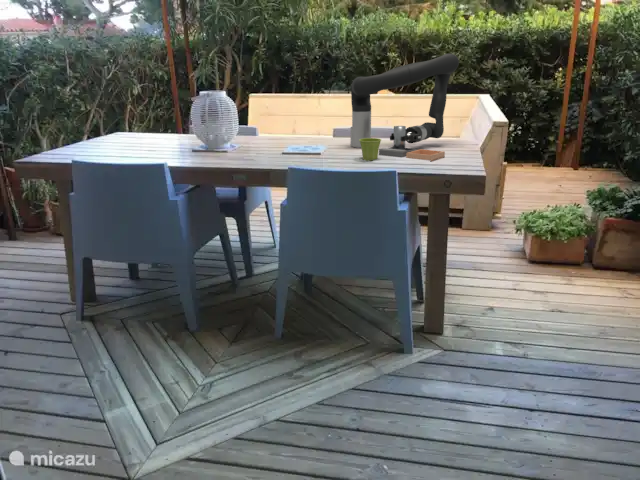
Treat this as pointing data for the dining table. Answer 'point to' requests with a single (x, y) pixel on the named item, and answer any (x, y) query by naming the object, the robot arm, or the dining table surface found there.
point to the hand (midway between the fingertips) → (396, 138)
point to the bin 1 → (395, 151)
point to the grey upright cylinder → (399, 137)
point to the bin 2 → (426, 154)
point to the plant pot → (370, 148)
